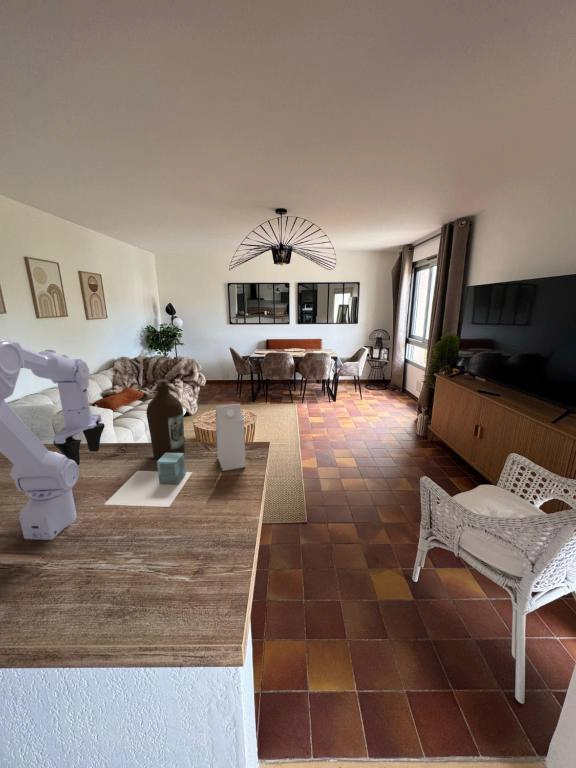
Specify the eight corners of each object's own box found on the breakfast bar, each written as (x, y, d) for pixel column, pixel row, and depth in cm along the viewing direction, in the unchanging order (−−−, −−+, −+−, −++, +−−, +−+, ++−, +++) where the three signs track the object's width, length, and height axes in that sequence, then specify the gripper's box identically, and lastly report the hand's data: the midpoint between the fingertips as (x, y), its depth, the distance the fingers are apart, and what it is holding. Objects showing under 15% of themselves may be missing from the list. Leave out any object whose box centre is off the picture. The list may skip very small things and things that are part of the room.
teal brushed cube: (178, 484, 86) (176, 462, 84) (159, 484, 86) (156, 461, 85) (185, 474, 91) (183, 453, 89) (167, 474, 91) (165, 452, 90)
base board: (169, 511, 77) (169, 506, 77) (104, 508, 78) (103, 504, 78) (192, 476, 93) (192, 472, 92) (138, 474, 94) (137, 470, 93)
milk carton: (217, 461, 101) (214, 402, 97) (240, 457, 104) (237, 400, 99) (221, 471, 95) (218, 410, 90) (245, 467, 97) (243, 407, 93)
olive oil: (144, 461, 101) (134, 383, 95) (167, 447, 111) (159, 375, 105) (172, 466, 98) (164, 386, 92) (193, 451, 108) (187, 378, 101)
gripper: (71, 418, 73) (80, 472, 76) (109, 399, 87) (116, 445, 90) (41, 417, 73) (52, 471, 77) (83, 398, 87) (91, 445, 91)
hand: (84, 457), depth 84 cm, fingers open, 7 cm apart
